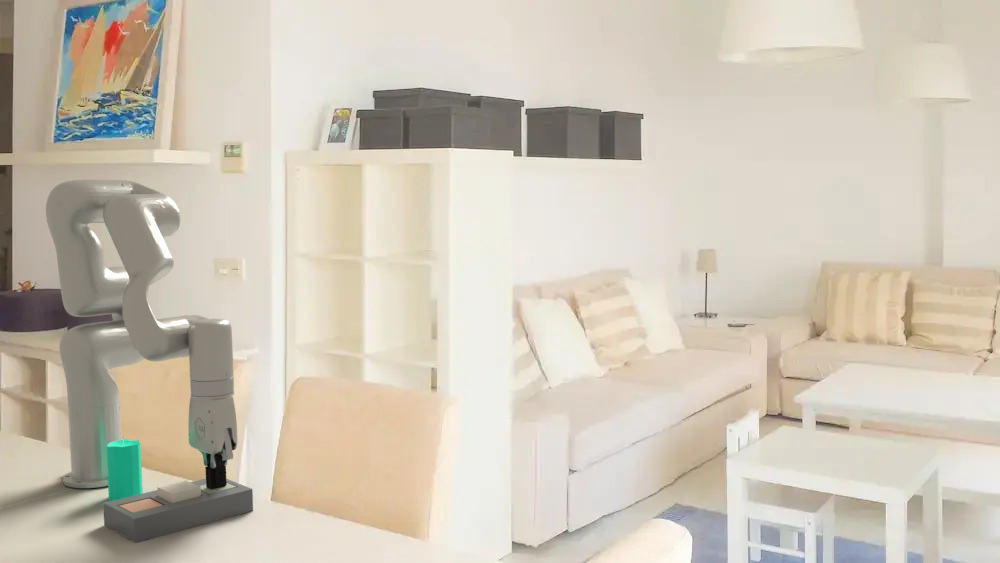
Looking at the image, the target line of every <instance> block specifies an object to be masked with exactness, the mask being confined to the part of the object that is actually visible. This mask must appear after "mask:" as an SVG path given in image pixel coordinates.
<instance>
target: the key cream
mask: <svg viewBox="0 0 1000 563" xmlns="http://www.w3.org/2000/svg"><path fill="white" fill-rule="evenodd" d="M191 482H192V481H188V480H183V481H179V482H178V481H177V482H174V483H169V484H164V485H161V486H157V489H156V490H158V497H159V498H161V499H163V500H165V501H167V502H169V503H175V502H180V501H184V500H188V499H192V498H196V497H200V496H201V487H200V486H198V485H195V484H193V483H191Z"/></svg>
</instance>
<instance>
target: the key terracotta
mask: <svg viewBox="0 0 1000 563" xmlns="http://www.w3.org/2000/svg"><path fill="white" fill-rule="evenodd" d="M159 506H163V505H162V504H160V503H158V502H156V501H154V500H151V499H145V500H140V501H136V502H132V503H128V504H124V505H120V506H119V507H121V508H123V509H125V510H127V511H129V512H131V513H135V512H139V511H143V510H147V509H151V508H155V507H159Z"/></svg>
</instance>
